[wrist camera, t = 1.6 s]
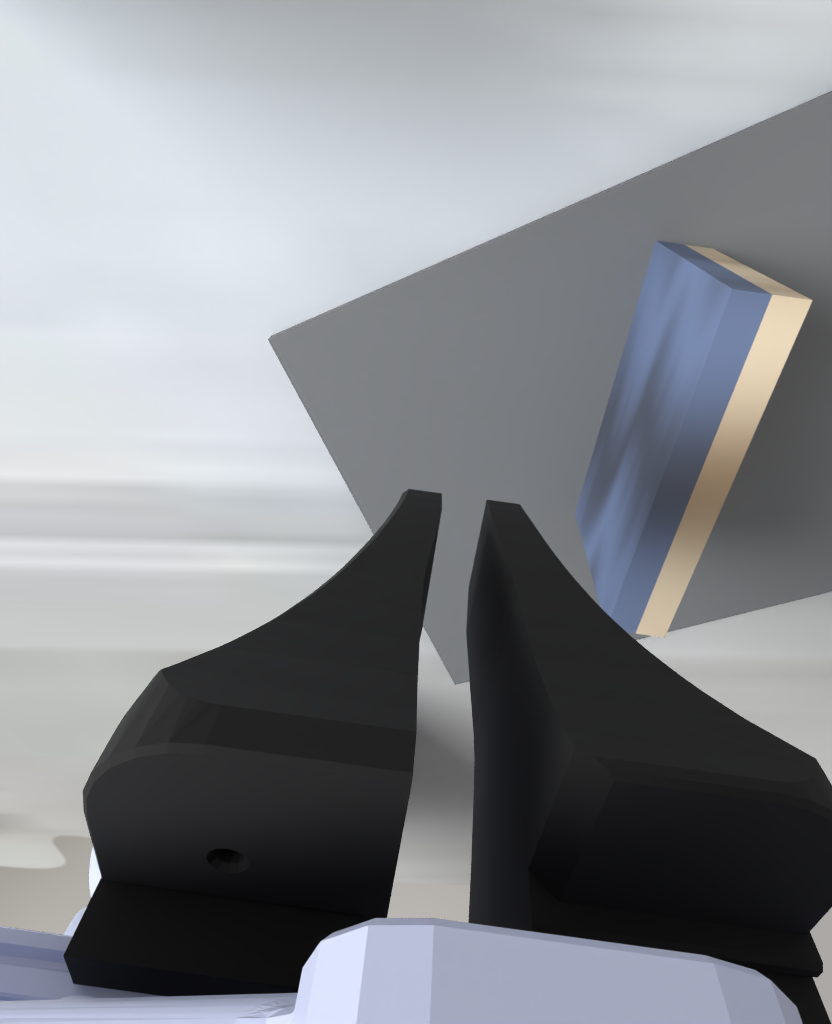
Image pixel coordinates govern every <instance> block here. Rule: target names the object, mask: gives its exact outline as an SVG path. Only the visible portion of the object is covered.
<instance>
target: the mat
mask: <svg viewBox="0 0 832 1024" xmlns="http://www.w3.org/2000/svg"><path fill="white" fill-rule="evenodd" d="M656 241H662V242H669V243H676V244H683V245H691V246H698V247H705V248H712V249H715V250H717V251H719V252H720V253H722V254H724V255H726V256H728V257H730V258H732V259H734V260H736V261H738V262H740V263H742V264H744V265H746V266H748V267H749V268H751V269H753V270H755V271H757V272H759V273H761V274H763V275H765V276H767V277H769V278H771V279H773V280H775V281H777V282H778V283H780V284H782V285H784V286H786V287H788V288H790V289H792V290H794V291H796V292H798V293H800V294H802V295H804V296H806V297H807V298H809V299H811V300H813V301H812V303H811V305H810V307H809V310H808V312H807V314H806V317H805V319H804V321H803V323H802V326H801V328H800V330H799V333H798V335H797V337H796V339H795V342H794V344H793V346H792V349H791V351H790V353H789V355H788V358H787V360H786V362H785V364H784V367H783V369H782V371H781V374H780V376H779V378H778V380H777V383H776V385H775V387H774V390H773V392H772V394H771V396H770V399H769V401H768V403H767V405H766V408H765V410H764V412H763V415H762V417H761V419H760V421H759V424H758V426H757V428H756V431H755V433H754V435H753V437H752V440H751V442H750V444H749V447H748V449H747V451H746V453H745V456H744V458H743V460H742V462H741V465H740V467H739V469H738V472H737V474H736V476H735V478H734V481H733V483H732V485H731V488H730V490H729V492H728V494H727V497H726V499H725V501H724V504H723V506H722V508H721V510H720V513H719V515H718V517H717V519H716V522H715V524H714V526H713V529H712V531H711V533H710V535H709V538H708V540H707V542H706V545H705V547H704V549H703V551H702V554H701V556H700V558H699V561H698V563H697V565H696V567H695V570H694V572H693V574H692V576H691V579H690V581H689V583H688V586H687V588H686V590H685V592H684V595H683V597H682V599H681V602H680V604H679V606H678V608H677V611H676V613H675V615H674V618H673V620H672V622H671V624H670V627H669V629H668V631H667V632H670V631H674V630H678V629H682V628H686V627H690V626H694V625H698V624H702V623H706V622H710V621H714V620H718V619H722V618H726V617H730V616H734V615H738V614H742V613H746V612H750V611H754V610H758V609H762V608H766V607H770V606H774V605H779V604H783V603H787V602H791V601H795V600H799V599H803V598H807V597H811V596H815V595H819V594H823V593H827V592H831V591H832V91H831V92H829V93H826V94H824V95H822V96H819V97H817V98H815V99H813V100H810V101H808V102H806V103H803V104H801V105H799V106H797V107H794V108H792V109H790V110H787V111H785V112H783V113H781V114H778V115H776V116H774V117H771V118H769V119H767V120H765V121H762V122H760V123H758V124H755V125H753V126H751V127H749V128H746V129H744V130H742V131H739V132H737V133H735V134H733V135H730V136H728V137H726V138H723V139H721V140H719V141H717V142H714V143H712V144H710V145H707V146H705V147H703V148H700V149H698V150H696V151H694V152H691V153H689V154H687V155H684V156H682V157H680V158H678V159H675V160H673V161H671V162H668V163H666V164H664V165H662V166H659V167H657V168H655V169H652V170H650V171H648V172H646V173H643V174H641V175H639V176H636V177H634V178H632V179H630V180H627V181H625V182H623V183H620V184H618V185H616V186H614V187H611V188H609V189H607V190H604V191H602V192H600V193H598V194H595V195H593V196H591V197H588V198H586V199H584V200H582V201H579V202H577V203H575V204H572V205H570V206H568V207H565V208H563V209H561V210H559V211H556V212H554V213H552V214H549V215H547V216H545V217H543V218H540V219H538V220H536V221H533V222H531V223H529V224H527V225H524V226H522V227H520V228H517V229H515V230H513V231H511V232H508V233H506V234H504V235H501V236H499V237H497V238H495V239H492V240H490V241H488V242H485V243H483V244H481V245H479V246H476V247H474V248H472V249H469V250H467V251H465V252H463V253H460V254H458V255H456V256H453V257H451V258H449V259H447V260H444V261H442V262H440V263H437V264H435V265H433V266H430V267H428V268H426V269H424V270H421V271H419V272H417V273H414V274H412V275H410V276H408V277H405V278H403V279H401V280H398V281H396V282H394V283H392V284H389V285H387V286H385V287H382V288H380V289H378V290H376V291H373V292H371V293H369V294H366V295H364V296H362V297H360V298H357V299H355V300H353V301H350V302H348V303H346V304H344V305H341V306H339V307H337V308H334V309H332V310H330V311H328V312H325V313H323V314H321V315H318V316H316V317H314V318H312V319H309V320H307V321H305V322H302V323H300V324H298V325H295V326H293V327H291V328H289V329H286V330H284V331H282V332H279V333H277V334H275V335H273V336H271V337H270V338H269V339H268V340H269V342H270V344H271V346H272V348H273V350H274V351H275V353H276V355H277V357H278V359H279V361H280V363H281V364H282V366H283V368H284V370H285V372H286V374H287V375H288V377H289V379H290V381H291V383H292V385H293V386H294V388H295V390H296V392H297V394H298V396H299V398H300V399H301V401H302V403H303V405H304V407H305V409H306V410H307V412H308V414H309V416H310V418H311V420H312V422H313V423H314V425H315V427H316V429H317V431H318V433H319V434H320V436H321V438H322V440H323V442H324V444H325V446H326V447H327V449H328V451H329V453H330V455H331V457H332V458H333V460H334V462H335V464H336V466H337V468H338V470H339V471H340V473H341V475H342V477H343V479H344V481H345V482H346V484H347V486H348V488H349V490H350V492H351V493H352V495H353V497H354V499H355V501H356V503H357V505H358V506H359V508H360V510H361V512H362V514H363V516H364V517H365V519H366V521H367V523H368V525H369V527H370V529H371V530H372V532H373V534H375V533H376V532H377V530H378V529H379V528H380V527H381V526H382V524H383V523H384V522H385V521H386V519H387V518H388V517H389V515H390V514H391V512H392V511H393V509H394V508H395V506H396V505H397V503H398V501H399V500H400V498H401V495H402V493H404V492H405V491H407V490H408V489H414V490H421V491H428V492H436V493H442V512H441V518H440V524H439V530H438V536H437V542H436V548H435V554H434V560H433V566H432V572H431V579H430V585H429V591H428V597H427V603H426V609H425V615H424V621H423V626H424V628H425V630H426V632H427V634H428V636H429V637H430V639H431V641H432V643H433V645H434V647H435V648H436V650H437V652H438V654H439V656H440V658H441V660H442V661H443V663H444V665H445V667H446V669H447V671H448V672H449V674H450V676H451V678H452V680H453V682H454V683H455V685H456V684H460V683H464V682H468V681H470V678H469V665H468V651H467V637H466V626H467V606H468V588H469V583H470V578H471V573H472V568H473V563H474V558H475V554H476V549H477V544H478V539H479V534H480V529H481V525H482V520H483V515H484V510H485V505H486V500H493V501H501V502H508V503H515V504H520V505H521V507H522V508H523V510H524V511H525V512H526V514H527V515H528V517H529V518H530V520H531V521H532V522H533V524H534V525H535V527H536V528H537V530H538V531H539V533H540V534H541V535H542V537H543V538H544V540H545V541H546V543H547V544H548V545H549V547H550V548H551V549H552V551H553V552H554V554H555V555H556V556H557V558H558V559H559V560H560V561H561V563H562V564H563V565H564V567H565V568H566V569H567V570H568V571H569V573H570V574H571V575H572V576H573V577H574V579H575V580H576V581H577V582H578V583H579V584H580V585H581V587H582V588H583V589H584V590H585V591H586V592H587V593H588V594H589V596H590V597H591V598H592V599H593V600H594V601H595V602H596V603H597V604H598V605H599V606H600V604H599V601H598V597H597V593H596V590H595V586H594V582H593V579H592V575H591V571H590V568H589V564H588V560H587V557H586V553H585V549H584V546H583V542H582V538H581V534H580V531H579V527H578V523H577V520H576V516H575V512H576V508H577V505H578V501H579V498H580V495H581V491H582V488H583V485H584V481H585V478H586V474H587V471H588V468H589V464H590V461H591V458H592V454H593V451H594V447H595V444H596V441H597V437H598V434H599V431H600V427H601V424H602V420H603V417H604V414H605V410H606V407H607V404H608V400H609V397H610V394H611V390H612V387H613V383H614V380H615V377H616V373H617V370H618V367H619V363H620V360H621V356H622V353H623V350H624V346H625V343H626V340H627V336H628V333H629V329H630V326H631V323H632V319H633V316H634V313H635V309H636V306H637V302H638V299H639V296H640V292H641V289H642V286H643V282H644V279H645V275H646V272H647V269H648V265H649V262H650V259H651V255H652V252H653V249H654V245H655V242H656ZM627 633H628V632H627ZM628 634H629V635H630V636H631V637H632V638H634V639H635V640H637V639H641V638H645V637H650V636H649V635H642V634H635V633H628Z"/></svg>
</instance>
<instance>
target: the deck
mask: <svg viewBox="0 0 832 1024" xmlns="http://www.w3.org/2000/svg"><path fill="white" fill-rule="evenodd" d="M812 301H813V300H811V299H809V298H807V297H806V296H804V295H802V294H800V293H798V292H796V291H794V290H792V289H790V288H788V287H786V286H784V285H782V284H780V283H778V282H777V281H775V280H773V279H771V278H769V277H767V276H765V275H763V274H761V273H759V272H757V271H755V270H753V269H751V268H749V267H748V266H746V265H744V264H742V263H740V262H738V261H736V260H734V259H732V258H730V257H728V256H726V255H724V254H722V253H720V252H719V251H717V250H715V249H712V248H705V247H698V246H691V245H683V244H676V243H669V242H662V241H656V242H655V245H654V249H653V252H652V255H651V259H650V262H649V265H648V269H647V272H646V275H645V279H644V282H643V286H642V289H641V292H640V296H639V299H638V302H637V306H636V309H635V313H634V316H633V319H632V323H631V326H630V329H629V333H628V336H627V340H626V343H625V346H624V350H623V353H622V356H621V360H620V363H619V367H618V370H617V373H616V377H615V380H614V383H613V387H612V390H611V394H610V397H609V400H608V404H607V407H606V410H605V414H604V417H603V420H602V424H601V427H600V431H599V434H598V437H597V441H596V444H595V447H594V451H593V454H592V458H591V461H590V464H589V468H588V471H587V474H586V478H585V481H584V485H583V488H582V491H581V495H580V498H579V501H578V505H577V508H576V512H575V516H576V520H577V523H578V527H579V531H580V534H581V538H582V542H583V546H584V549H585V553H586V557H587V560H588V564H589V568H590V571H591V575H592V579H593V582H594V586H595V590H596V593H597V597H598V601H599V604H600V607H601V608H602V609H603V610H604V611H605V612H606V613H607V614H608V615H609V616H610V617H611V618H612V619H613V620H614V621H615V622H616V623H617V624H618V625H619V626H621V627H622V628H623V629H624V630H625V631H626V632H628V633H635V634H642V635H649V636H657V637H664V638H665V636H666V633H667V631H668V629H669V627H670V624H671V622H672V620H673V618H674V615H675V613H676V611H677V608H678V606H679V604H680V602H681V599H682V597H683V595H684V592H685V590H686V588H687V586H688V583H689V581H690V579H691V576H692V574H693V572H694V570H695V567H696V565H697V563H698V561H699V558H700V556H701V554H702V551H703V549H704V547H705V545H706V542H707V540H708V538H709V535H710V533H711V531H712V529H713V526H714V524H715V522H716V519H717V517H718V515H719V513H720V510H721V508H722V506H723V504H724V501H725V499H726V497H727V494H728V492H729V490H730V488H731V485H732V483H733V481H734V478H735V476H736V474H737V472H738V469H739V467H740V465H741V462H742V460H743V458H744V456H745V453H746V451H747V449H748V447H749V444H750V442H751V440H752V437H753V435H754V433H755V431H756V428H757V426H758V424H759V421H760V419H761V417H762V415H763V412H764V410H765V408H766V405H767V403H768V401H769V399H770V396H771V394H772V392H773V390H774V387H775V385H776V383H777V380H778V378H779V376H780V374H781V371H782V369H783V367H784V364H785V362H786V360H787V358H788V355H789V353H790V351H791V349H792V346H793V344H794V342H795V339H796V337H797V335H798V333H799V330H800V328H801V326H802V323H803V321H804V319H805V317H806V314H807V312H808V310H809V307H810V305H811V303H812Z"/></svg>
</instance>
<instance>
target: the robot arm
mask: <svg viewBox="0 0 832 1024" xmlns="http://www.w3.org/2000/svg"><path fill="white" fill-rule="evenodd" d="M441 512H442V493H436V492H428V491H421V490H414V489H408V490H407V491H405V492H404V493H402V495H401V498H400V500H399V501H398V503H397V505H396V506H395V508H394V509H393V511H392V512H391V514H390V515H389V517H388V518H387V519H386V521H385V522H384V523H383V524H382V526H381V527H380V528H379V529H378V530H377V532H376V533H375V534H374V535H373V537H372V538H371V539H370V540H369V541H368V542H367V543H366V545H365V546H364V547H363V548H362V549H361V550H360V551H359V552H358V553H357V554H356V555H355V556H354V557H353V558H352V559H351V560H350V561H349V562H348V563H347V564H346V565H345V566H344V567H343V568H342V569H341V570H339V571H338V572H337V573H336V574H335V575H334V576H333V577H331V578H330V579H329V580H328V581H327V582H326V583H324V584H323V585H322V586H320V587H319V588H318V589H317V590H315V591H314V592H313V593H312V594H310V595H309V596H307V597H306V598H305V599H303V600H302V601H300V602H299V603H297V604H296V605H294V606H293V607H292V608H290V609H289V610H287V611H286V612H284V613H283V614H281V615H279V616H278V617H276V618H275V619H273V620H271V621H270V622H268V623H266V624H264V625H262V626H260V627H259V628H257V629H255V630H253V631H251V632H249V633H247V634H245V635H243V636H241V637H239V638H237V639H235V640H233V641H231V642H229V643H227V644H224V645H222V646H220V647H218V648H215V649H213V650H210V651H208V652H205V653H203V654H200V655H198V656H195V657H193V658H190V659H188V660H185V661H183V662H180V663H178V664H175V665H172V666H170V667H167V668H164V669H161V670H160V671H159V672H158V673H157V674H156V676H155V677H154V678H153V679H152V681H151V682H150V683H149V685H148V686H147V687H146V688H145V690H144V691H143V692H142V694H141V695H140V696H139V697H138V699H137V700H136V701H135V703H134V704H133V705H132V707H131V708H130V709H129V711H128V712H127V713H126V715H125V716H124V717H123V719H122V720H121V722H120V724H119V725H118V727H117V729H116V730H115V732H114V734H113V735H112V737H111V739H110V741H109V742H108V744H107V746H106V748H105V749H104V751H103V753H102V755H101V756H100V758H99V760H98V762H97V763H96V765H95V767H94V769H93V770H92V772H91V774H90V776H89V779H88V781H87V783H86V785H85V787H84V790H83V804H84V813H85V817H86V821H87V825H88V829H89V832H90V836H91V840H92V843H93V849H92V853H91V859H90V871H89V887H90V895H91V900H90V902H89V904H88V906H86V907H84V908H82V909H81V910H80V911H79V912H78V913H77V914H76V915H75V917H74V918H73V920H72V921H71V923H70V924H69V926H68V928H67V930H66V931H65V933H64V935H62V934H55V933H47V932H40V931H32V930H25V929H18V928H11V927H3V926H0V1024H831V1022H830V1020H829V1017H828V1015H827V1012H826V1010H825V1007H824V1005H823V1002H822V1000H821V997H820V995H819V992H818V990H817V987H816V985H815V982H814V980H813V977H818V976H819V975H820V974H821V973H822V972H823V962H822V960H821V957H820V955H819V953H818V950H817V948H816V945H815V943H814V941H813V938H812V936H811V934H810V930H811V929H812V928H813V927H814V926H815V925H816V924H817V923H818V921H819V920H820V919H821V918H822V917H823V916H824V915H825V914H826V913H827V912H828V910H829V909H830V908H831V907H832V785H831V783H830V782H829V780H828V778H827V776H826V775H825V773H824V771H823V770H822V768H821V766H820V765H819V763H818V762H817V760H816V759H815V758H814V757H812V756H810V755H808V754H806V753H805V752H803V751H801V750H799V749H798V748H796V747H794V746H792V745H790V744H789V743H787V742H785V741H783V740H782V739H780V738H778V737H776V736H774V735H773V734H771V733H769V732H767V731H765V730H764V729H762V728H760V727H758V726H757V725H755V724H753V723H751V722H749V721H748V720H746V719H744V718H743V717H741V716H739V715H738V714H736V713H735V712H733V711H732V710H730V709H729V708H727V707H726V706H724V705H722V704H721V703H719V702H718V701H716V700H715V699H713V698H712V697H710V696H709V695H707V694H706V693H704V692H703V691H701V690H700V689H698V688H697V687H695V686H694V685H693V684H691V683H690V682H688V681H687V680H686V679H684V678H683V677H681V676H680V675H679V674H677V673H676V672H675V671H673V670H672V669H671V668H669V667H668V666H667V665H666V664H664V663H663V662H662V661H660V660H659V659H658V658H657V657H655V656H654V655H653V654H652V653H650V652H649V651H648V650H647V649H645V648H644V647H643V646H642V645H641V644H639V643H638V642H637V641H636V640H635V639H634V638H632V637H631V636H630V635H629V634H628V633H627V632H626V631H625V630H624V629H623V628H622V627H621V626H619V625H618V624H617V623H616V622H615V621H614V620H613V619H612V618H611V617H610V616H609V615H608V614H607V613H606V612H605V611H604V610H603V609H602V608H601V607H600V606H599V605H598V604H597V603H596V602H595V601H594V600H593V599H592V598H591V597H590V596H589V594H588V593H587V592H586V591H585V590H584V589H583V588H582V587H581V585H580V584H579V583H578V582H577V581H576V580H575V579H574V577H573V576H572V575H571V574H570V573H569V571H568V570H567V569H566V568H565V567H564V565H563V564H562V563H561V561H560V560H559V559H558V558H557V556H556V555H555V554H554V552H553V551H552V549H551V548H550V547H549V545H548V544H547V543H546V541H545V540H544V538H543V537H542V535H541V534H540V533H539V531H538V530H537V528H536V527H535V525H534V524H533V522H532V521H531V520H530V518H529V517H528V515H527V514H526V512H525V511H524V510H523V508H522V507H521V505H520V504H515V503H508V502H501V501H493V500H486V505H485V510H484V515H483V520H482V525H481V529H480V534H479V539H478V544H477V549H476V554H475V558H474V563H473V568H472V573H471V578H470V583H469V588H468V606H467V626H466V637H467V651H468V665H469V678H470V691H471V704H472V717H473V730H474V753H475V767H474V804H473V833H472V861H471V884H470V905H469V923H465V922H458V921H451V920H443V919H436V918H387V914H388V908H389V903H390V897H391V892H392V887H393V881H394V876H395V870H396V865H397V860H398V854H399V849H400V843H401V838H402V832H403V827H404V822H405V816H406V811H407V805H408V800H409V795H410V789H411V784H412V776H413V766H414V754H415V742H416V722H417V682H418V660H419V641H420V636H421V632H422V627H423V621H424V615H425V609H426V603H427V597H428V591H429V585H430V579H431V572H432V566H433V560H434V554H435V548H436V542H437V536H438V530H439V524H440V518H441Z"/></svg>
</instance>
